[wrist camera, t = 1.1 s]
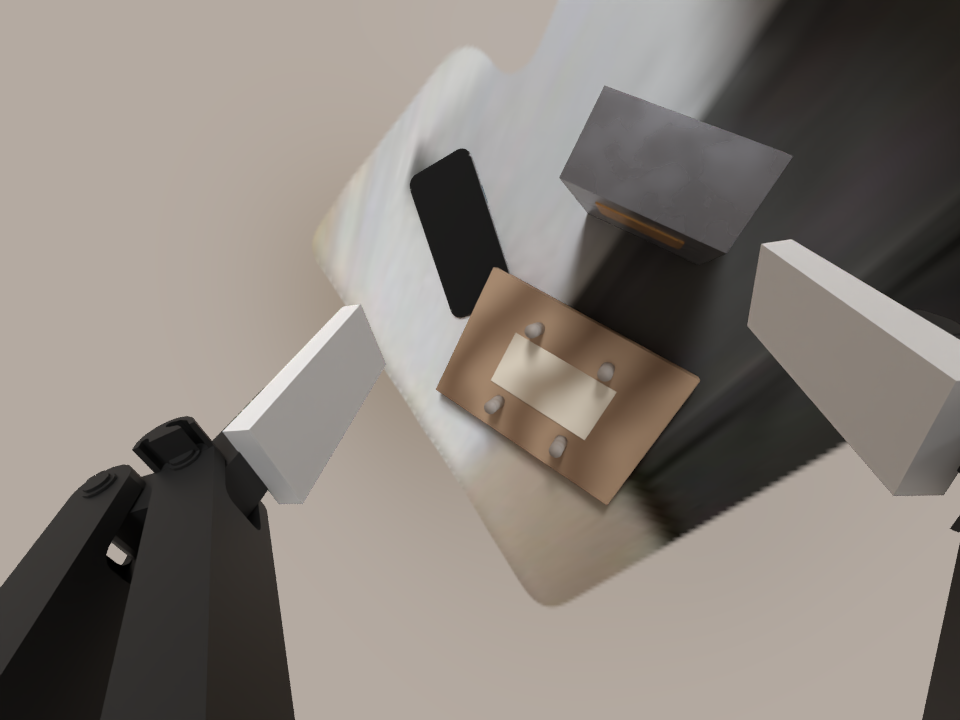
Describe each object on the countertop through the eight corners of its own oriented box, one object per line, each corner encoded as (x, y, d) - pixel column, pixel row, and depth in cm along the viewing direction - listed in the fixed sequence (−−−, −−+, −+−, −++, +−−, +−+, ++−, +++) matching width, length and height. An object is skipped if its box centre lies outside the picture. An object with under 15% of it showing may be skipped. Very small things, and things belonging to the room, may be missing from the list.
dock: (698, 376, 32) (704, 388, 29) (608, 497, 37) (604, 519, 33) (499, 267, 37) (483, 265, 34) (442, 386, 42) (423, 395, 39)
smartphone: (453, 320, 40) (406, 179, 39) (456, 319, 41) (409, 181, 40) (517, 296, 37) (467, 143, 36) (519, 296, 38) (470, 145, 37)
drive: (739, 204, 29) (793, 155, 18) (697, 266, 31) (725, 255, 20) (618, 154, 32) (604, 85, 21) (587, 214, 34) (558, 179, 23)
